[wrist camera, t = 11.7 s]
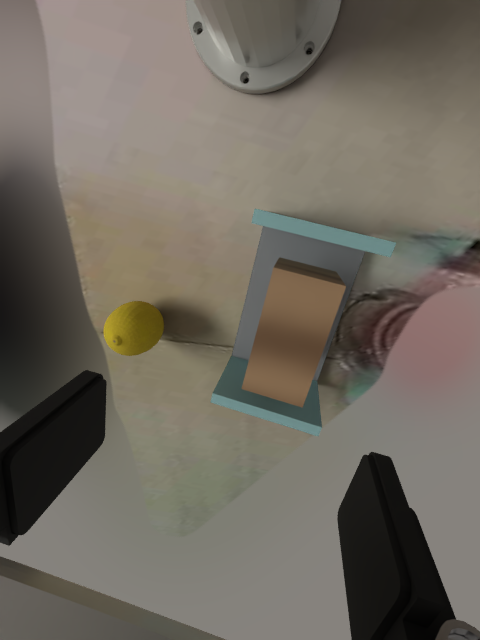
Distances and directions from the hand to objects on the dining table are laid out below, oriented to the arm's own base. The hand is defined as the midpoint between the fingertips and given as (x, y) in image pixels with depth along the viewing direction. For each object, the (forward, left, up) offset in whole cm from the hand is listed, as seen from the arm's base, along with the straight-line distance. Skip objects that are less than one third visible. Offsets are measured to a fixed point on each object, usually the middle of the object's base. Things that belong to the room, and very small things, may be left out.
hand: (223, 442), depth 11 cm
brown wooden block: (+1, +2, -18) cm, 18 cm away
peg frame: (+1, +2, -23) cm, 23 cm away
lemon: (+7, -13, -24) cm, 28 cm away
